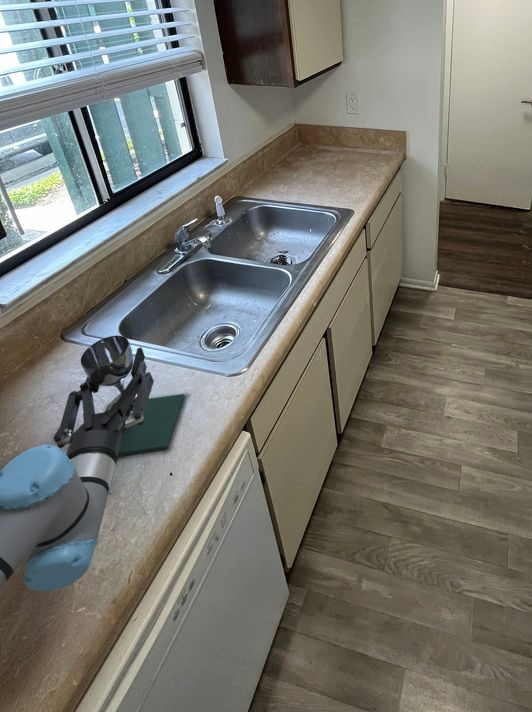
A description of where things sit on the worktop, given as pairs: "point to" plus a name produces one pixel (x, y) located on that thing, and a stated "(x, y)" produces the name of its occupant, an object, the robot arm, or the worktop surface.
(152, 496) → the worktop surface
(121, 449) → the mat
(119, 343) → the wine glass
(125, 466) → the worktop surface
